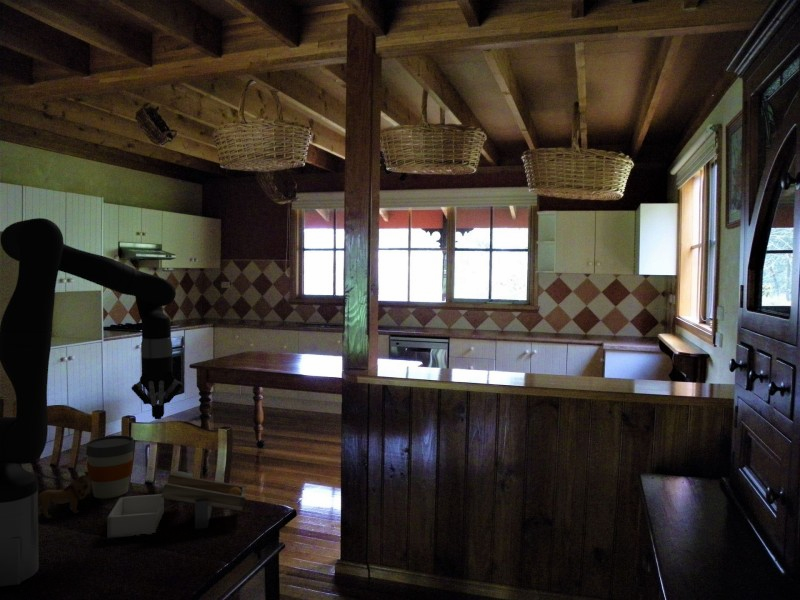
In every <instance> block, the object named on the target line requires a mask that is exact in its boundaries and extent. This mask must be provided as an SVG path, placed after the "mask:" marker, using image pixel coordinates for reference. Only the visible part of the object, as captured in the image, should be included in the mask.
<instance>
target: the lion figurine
mask: <svg viewBox="0 0 800 600" xmlns="http://www.w3.org/2000/svg"><path fill="white" fill-rule="evenodd" d="M91 489H92V482H91V476H89V474H88V475H87V474H82V475H80V476H78V477H77V478H76V480H75V481H73V482H72V483H70V484H69V485H68V486H67V487H65V488H62V489H57V490H56V489H47V490H43V491H42V492H40V493H38V517H39V516H42V513H43V515H44V516H45V518H46V519H52V518H53V515H52V514H49V512H48V510H49V509H50V506H51V503H55V504H56V505H57V504H58V505H59V504H61V505H62V504H67V503H69V509H70V511H72V512H73V513H74V514H77V513H78V514H79V513H80V510H79V509H77V508H78V502H79V500H83V499H84V498H85V497H86V495H87V494H88V493H89V492H90V490H91ZM39 500H40V501H39ZM41 508H43V510H42V512H39V511H40V510H41Z"/></svg>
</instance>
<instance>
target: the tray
mask: <svg viewBox="0 0 800 600" xmlns="http://www.w3.org/2000/svg"><path fill="white" fill-rule="evenodd" d="M161 496H162V493H160V494H159V493H158V494H147V495H144V494H143V495H134V496H133V495H131V496H119V499H118V500H117V502H116V504H115V505H114V507H113V508H112V510H111V511H110V513H109V515H108V516H107V519H106V520H107V521H106V523H107V531H106V532H107V537H106V538H107V539H110V538H111V539H113V538H122V537H123V538H124V537H125V538H126V537H132V536H133V537H134V535H136V536H141V535H140V534H147V535H153V534H152V533H155V534H156V532H157V530H156V529H158V528H157V527H159V525H160V523H159V522H161V521H162V518H163V516H162V515H164V513H165V498H161ZM160 520H161V521H160ZM158 524H159V525H158Z"/></svg>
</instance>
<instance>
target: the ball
mask: <svg viewBox="0 0 800 600" xmlns="http://www.w3.org/2000/svg"><path fill="white" fill-rule="evenodd" d="M229 494H234V495H240V496H241V490H240V488H238V487H233V488H231V489H230V491H229Z"/></svg>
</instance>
